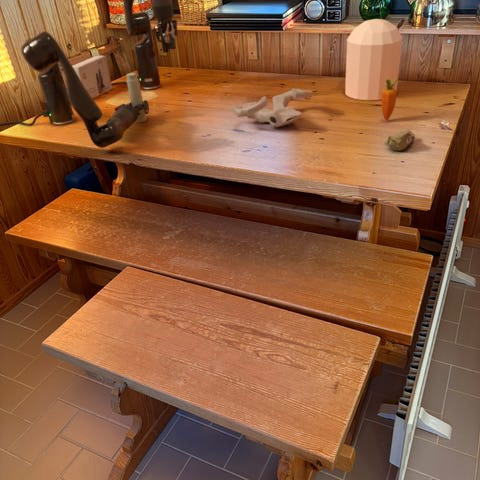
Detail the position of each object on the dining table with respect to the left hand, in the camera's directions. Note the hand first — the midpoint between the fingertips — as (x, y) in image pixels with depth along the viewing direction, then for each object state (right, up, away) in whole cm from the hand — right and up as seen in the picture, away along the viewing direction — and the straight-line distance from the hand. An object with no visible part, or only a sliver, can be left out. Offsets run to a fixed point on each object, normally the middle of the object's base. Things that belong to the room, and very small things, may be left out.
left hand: (139, 102), depth 187 cm
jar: (0, -7, +1) cm, 7 cm away
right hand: (+12, +21, -1) cm, 24 cm away
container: (+95, +6, +6) cm, 95 cm away
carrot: (+93, -13, -21) cm, 96 cm away
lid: (+12, +23, -3) cm, 26 cm away
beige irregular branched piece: (+55, -13, -15) cm, 59 cm away
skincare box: (-29, +14, +36) cm, 48 cm away
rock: (+92, -26, -39) cm, 103 cm away
